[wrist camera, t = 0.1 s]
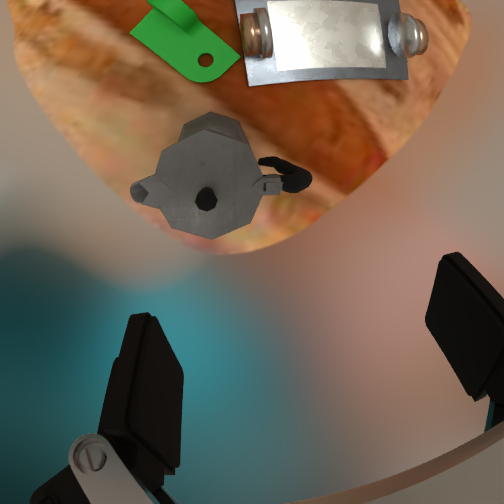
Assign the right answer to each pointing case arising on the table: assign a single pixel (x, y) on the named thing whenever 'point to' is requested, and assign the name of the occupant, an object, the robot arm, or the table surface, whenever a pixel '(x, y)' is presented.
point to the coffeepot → (214, 179)
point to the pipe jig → (327, 39)
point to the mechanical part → (183, 40)
